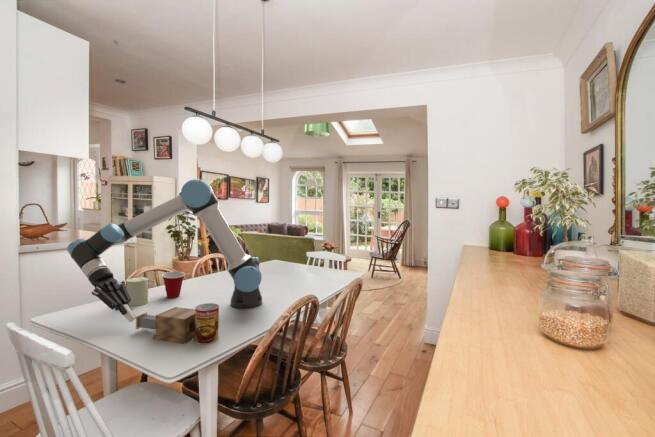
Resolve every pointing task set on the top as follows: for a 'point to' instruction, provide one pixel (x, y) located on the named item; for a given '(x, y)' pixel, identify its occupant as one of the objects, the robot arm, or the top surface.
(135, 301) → the can
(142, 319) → the shaft
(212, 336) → the canned food
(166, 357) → the top surface
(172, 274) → the plastic cup
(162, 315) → the bearing block
